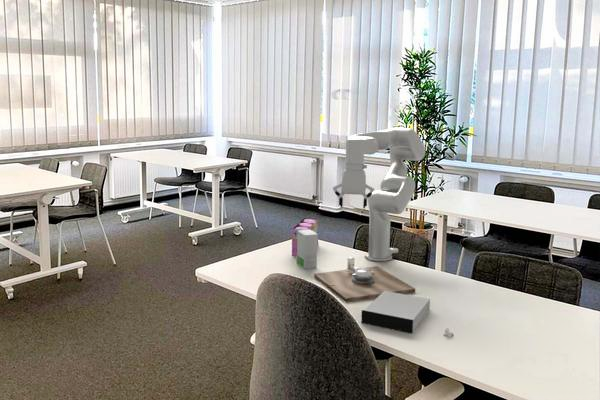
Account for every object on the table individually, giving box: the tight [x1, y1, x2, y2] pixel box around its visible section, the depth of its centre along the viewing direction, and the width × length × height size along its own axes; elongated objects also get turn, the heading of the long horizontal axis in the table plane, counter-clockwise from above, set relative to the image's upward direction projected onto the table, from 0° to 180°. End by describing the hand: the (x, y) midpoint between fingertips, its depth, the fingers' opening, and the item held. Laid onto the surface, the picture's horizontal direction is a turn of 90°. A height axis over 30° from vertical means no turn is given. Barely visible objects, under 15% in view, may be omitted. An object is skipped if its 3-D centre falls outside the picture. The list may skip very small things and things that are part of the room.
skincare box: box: [296, 229, 319, 270], centre depth 253 cm, size 8×7×16 cm
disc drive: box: [360, 291, 431, 335], centre depth 199 cm, size 18×22×5 cm
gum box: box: [291, 217, 319, 258], centre depth 277 cm, size 24×8×14 cm, turn 165°
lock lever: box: [347, 256, 374, 281], centre depth 234 cm, size 16×9×5 cm, turn 22°
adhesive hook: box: [443, 326, 454, 337], centre depth 185 cm, size 3×3×3 cm
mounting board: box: [313, 265, 416, 303], centre depth 231 cm, size 30×30×2 cm
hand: (352, 207), depth 243 cm, fingers open, 9 cm apart
